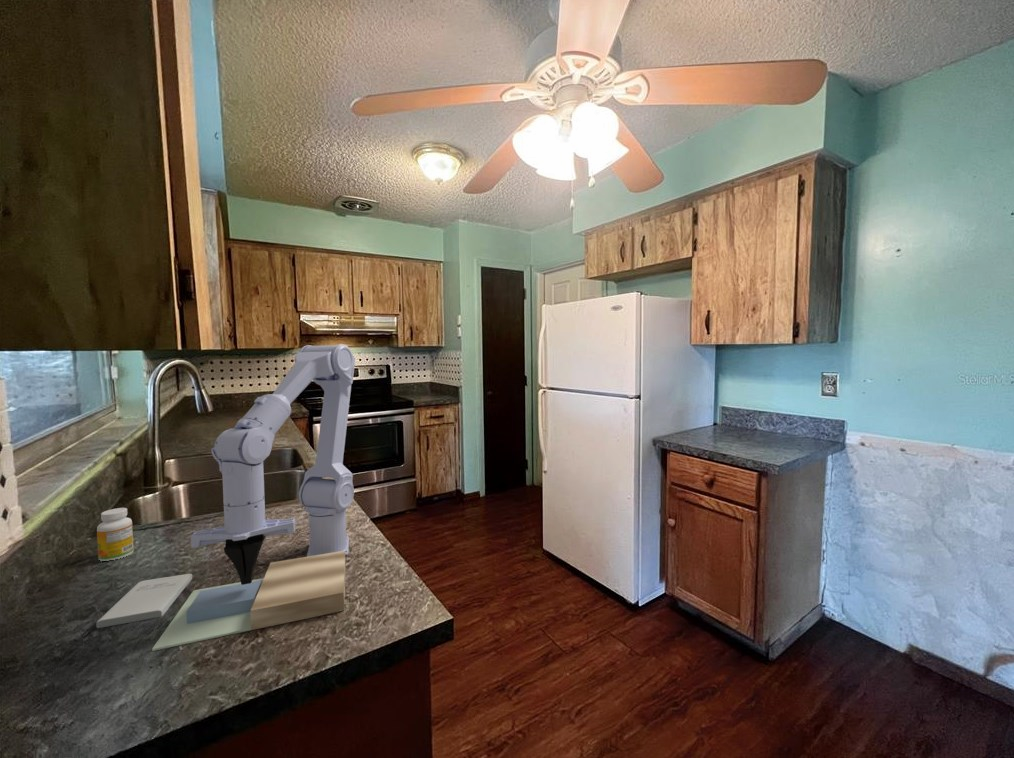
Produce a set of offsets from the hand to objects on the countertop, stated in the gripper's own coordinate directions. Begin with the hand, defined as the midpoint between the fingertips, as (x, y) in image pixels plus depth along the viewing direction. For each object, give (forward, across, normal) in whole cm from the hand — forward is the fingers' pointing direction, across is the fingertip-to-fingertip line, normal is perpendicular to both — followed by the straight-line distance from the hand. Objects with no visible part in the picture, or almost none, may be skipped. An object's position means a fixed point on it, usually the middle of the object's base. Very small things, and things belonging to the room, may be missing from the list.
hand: (247, 581), depth 68 cm
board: (+4, +8, 0) cm, 9 cm away
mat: (+4, -4, 0) cm, 6 cm away
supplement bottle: (+4, -30, +31) cm, 44 cm away
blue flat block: (+4, -3, 0) cm, 5 cm away
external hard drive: (+5, -16, +8) cm, 19 cm away
